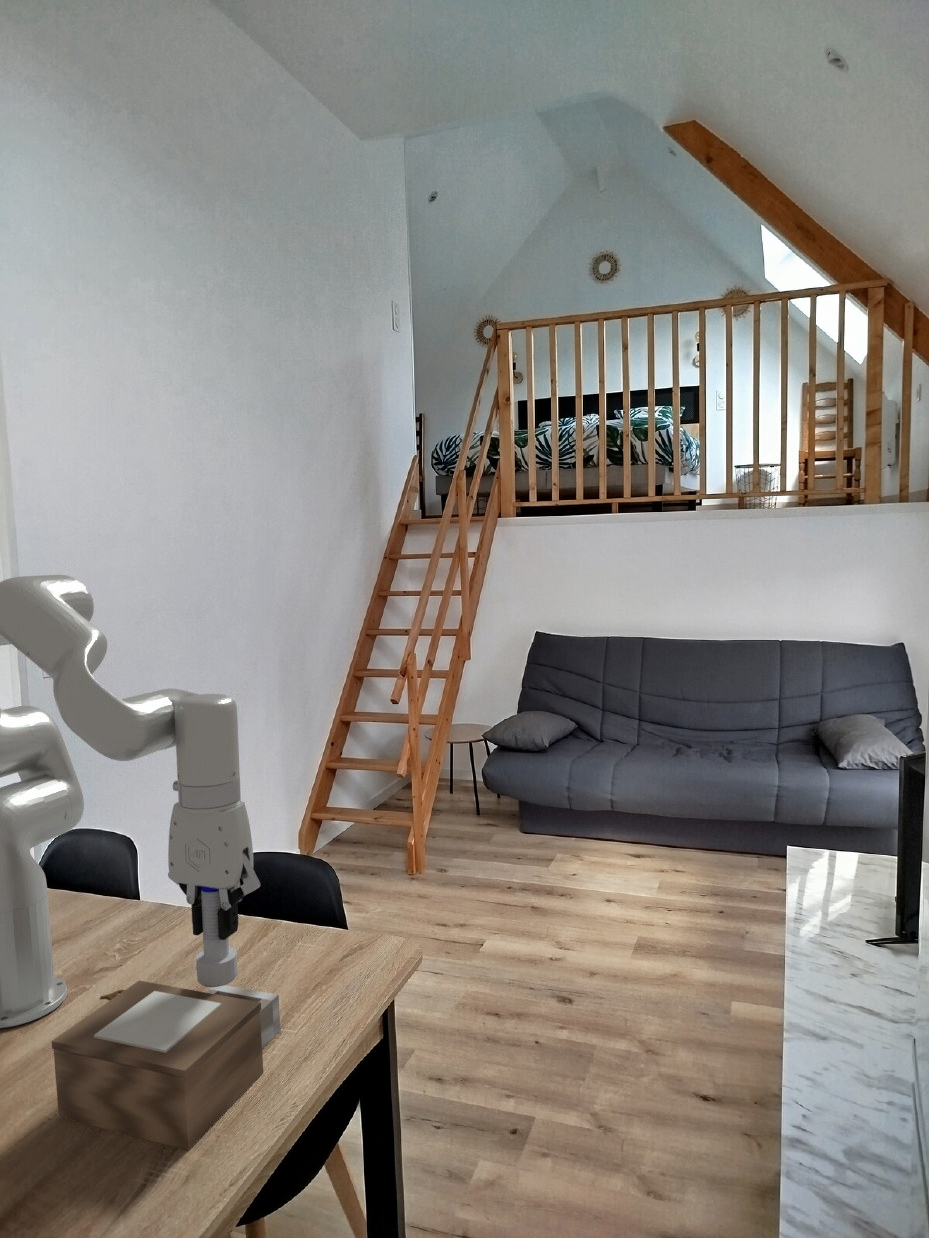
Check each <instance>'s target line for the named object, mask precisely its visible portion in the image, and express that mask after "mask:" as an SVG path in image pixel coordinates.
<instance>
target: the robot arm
mask: <svg viewBox="0 0 929 1238" xmlns="http://www.w3.org/2000/svg"><path fill="white" fill-rule="evenodd" d="M94 612H95V605H94V598H93V596H92V593H91V592H90V591H89V589H88V588H87V587H86V585H85V584H84V583H83V582H82V581H80V580H79V579H77V578H75V577H73V576H69V575H65V574H46V575H25V576H14V577H11V578H7V579H4V580H1V581H0V646H6V645H7V646H9V645H11V646H13V647H14V648H16V649H17V650H18V651H19V652H20V653H21V654H23V655H24V656H25V657H26V658H28V659H29V660H30V661H31V662H33V663H34V664H35V665H36V666H37V667H38V668H39V669H40V670H42V671H43V672H44V673H45V674H47V675H48V676H49V677H50V678H51V679H52V680H53V683H52V689H53V690H52V691H53V696H54V701H55V705H56V707H57V710H58V712H59V715H60V717H61V719H62V720H63V722H64V723H65V724H66V726H67V728H69V729H70V730H71V732H73V733H74V734H75V735H76V736H77V737H79V738H80V739H81V740H82V741H83V742H84V743H86V744H87V745H88V746H89V747H90V748H91V749H93V750H95V751H96V752H97V753H99V754H100V755H102V756H104V757H106V758H107V759H110V760H113V761H118V762H128V761H133V760H137V759H140V758H143V757H145V756H148V755H151V754H153V753H156V752H159V751H163V750H167V749H171V748H173V747H175V750H176V752H175V753H176V775H177V780H174V781H173V783H172V789H173V791H174V792H177V796H178V799H177V800H178V801H177V802H175V803H174V804H173V807H172V810H171V811H172V812H171V817H170V823H169V829H168V830H169V831H168V846H167V847H168V848H167V849H168V850H167V851H168V854H167V855H168V856H167V858H168V860H167V861H168V873H167V877H168V879H169V880H171V881H172V882H173V883H175V884H176V885H177V886H179V888H180V889H181V891H182V893H183V894H184V895H185V898H186V902H187V904H189V905H191V923H192V935H194V936H200V935H201V934H203V921H202V919H203V918H202V900H201V898H202V897H201V895H202V894H201V891H202V890H201V886H202V887H209V888H215V889H219V894H220V901H221V907H222V908H220V909H219V910H218V912H217V913H218V936H219V939H220V940H225V939H227V938H228V937H231V936H232V935H233V934H235V933H237V931H238V928H239V906H238V905H239V904H238V903H240V902H241V901H242V900H243V898H244V897H245V896H246V895H249V894H251V893H252V892H255V891H256V890H257V889H259V888H260V887H261V882H260V880H259V878H258V876H257V874H256V871H255V870H254V847H253V838H252V831H251V825H250V820H249V819H250V818H249V814H248V811H247V807H246V804H245V802H244V801H242V800H241V799H242V798H241V774H240V773H241V772H240V770H241V769H240V749H239V728H238V727H239V725H238V724H239V723H238V721H239V720H238V707H237V706H238V705H237V703H236V701H235V699H234V698H233V697H231V696H229V695H226V694H221V693H204V694H203V693H202V694H199V693H195V692H191V691H188V690H185V689H179V688H163V689H159V690H156V691H152V692H146V693H142V694H138V695H134V696H130V697H126V698H123V699H120V698H118V696H116V695H115V694H113V693H112V692H111V691H109V690H108V689H107V688H106V687H104V686H103V685H102V684H101V683H100V682H99V681H97V680H96V678H95V677H94V676H93V674H94V673H95V671H97V669H98V668H99V667H100V665H101V664H102V662H103V661H104V659H105V656H106V654H107V651H108V639H107V637H106V635H105V634H104V632H103V631H101V629H99V628H97V626H95V625H93V624H92V623H91V620H92V618H93V616H94ZM16 773H17V774H18V776H19V778H20V781H18V782H14V783H10V784H7V785H4V786H1V787H0V1029H4V1028H11V1027H15V1026H16V1027H17V1026H19V1025H20V1026H21V1025H23V1024H27V1023H30V1022H33V1021H35V1020H37V1019H40V1018H42V1017H44V1016H46V1015H48V1014H49V1013H51V1012H53V1011H55V1010H56V1009H57V1008H58V1007H59V1006H60V1005H61V1004H62V1003H63V1002H64V1001H65V999H67V995H68V988H67V983H66V981H64V980H63V979H61V978H59V977H58V976H57V977H56V976H55V971H54V960H53V946H52V932H51V921H50V909H49V908H50V907H49V905H50V904H49V895H48V894H49V893H48V885H47V878H46V874H45V872H44V870H43V869H42V867H41V866H40V864H39V863H38V862H37V861H36V859H35V858H34V857H33V856H32V854H31V849H32V848H34V847H37V846H38V845H40V844H42V843H45V842H48V841H49V840H52V839H54V838H56V837H58V836H59V837H60V836H61V835H63V834H66V833H67V832H70V831H72V829H74V828H75V827H76V826H77V825H78V824H79V823H80V821H81V820H82V818H83V814H84V810H85V802H84V801H85V800H84V795H83V790H82V786H81V784H80V782H79V778H78V776H77V773H76V771H75V767H74V765H73V762H72V760H71V757H70V753H69V751H68V749H67V747H66V744H65V740H64V738H63V736H62V733H61V731H60V728H59V727H58V724H57V723H56V721H55V720H54V719H53V718H52V716H51V715H50V714H48V713H47V712H46V711H45V710H43V709H41V708H39V707H37V706H34V705H33V706H32V705H17V706H14V707H9V708H4V709H2V708H0V778H4V777H8V776H11V775H13V774H16ZM240 879H242V882H243V884H242V885H241V882H240V881H241V880H240Z"/></svg>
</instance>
